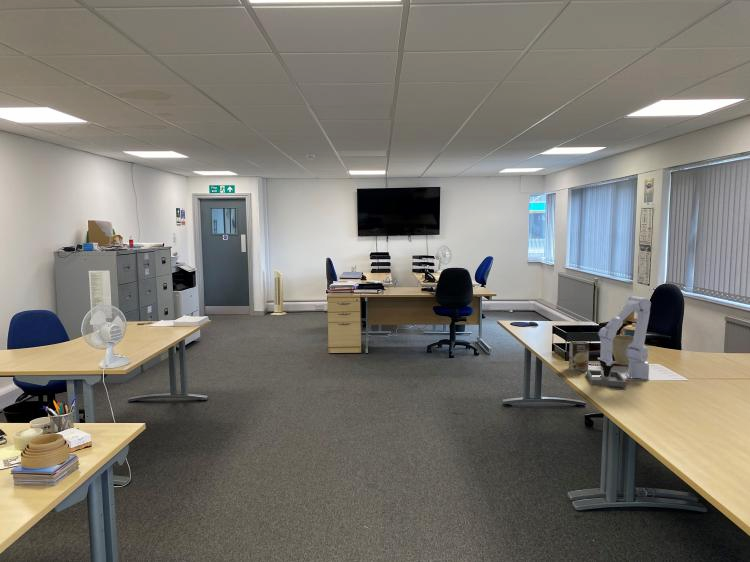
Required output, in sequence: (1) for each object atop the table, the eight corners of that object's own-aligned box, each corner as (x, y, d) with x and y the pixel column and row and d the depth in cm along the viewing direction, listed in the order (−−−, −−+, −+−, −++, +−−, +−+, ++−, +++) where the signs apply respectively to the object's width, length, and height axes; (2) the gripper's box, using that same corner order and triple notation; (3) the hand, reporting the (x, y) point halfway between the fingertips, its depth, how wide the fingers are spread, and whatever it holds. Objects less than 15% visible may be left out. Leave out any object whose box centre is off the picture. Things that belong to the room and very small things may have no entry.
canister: (626, 345, 327) (627, 320, 325) (647, 348, 317) (648, 322, 315) (618, 348, 319) (619, 323, 317) (639, 352, 309) (640, 325, 307)
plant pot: (604, 360, 291) (605, 335, 290) (629, 360, 291) (630, 334, 289) (616, 367, 276) (617, 340, 275) (642, 367, 276) (643, 340, 274)
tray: (618, 376, 259) (618, 371, 259) (625, 387, 242) (626, 381, 242) (586, 375, 264) (586, 369, 263) (591, 385, 246) (592, 379, 246)
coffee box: (571, 371, 271) (572, 343, 270) (568, 367, 278) (569, 341, 276) (588, 371, 270) (589, 343, 269) (584, 368, 277) (585, 341, 275)
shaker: (609, 377, 254) (609, 366, 254) (610, 380, 250) (611, 369, 249) (599, 376, 255) (600, 366, 255) (601, 379, 251) (601, 368, 250)
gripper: (595, 346, 259) (595, 370, 260) (600, 353, 245) (599, 378, 247) (610, 347, 257) (609, 371, 258) (615, 354, 243) (614, 379, 245)
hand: (605, 375), depth 252 cm, fingers closed on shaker, 4 cm apart
